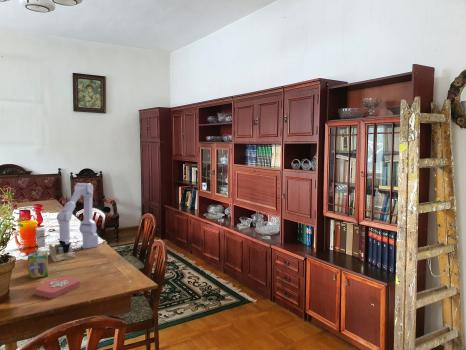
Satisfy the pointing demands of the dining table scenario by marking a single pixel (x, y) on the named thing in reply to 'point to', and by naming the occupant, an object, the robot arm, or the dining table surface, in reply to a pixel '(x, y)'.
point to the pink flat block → (57, 287)
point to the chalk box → (37, 264)
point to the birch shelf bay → (58, 257)
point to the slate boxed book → (60, 250)
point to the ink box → (40, 237)
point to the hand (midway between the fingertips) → (65, 252)
